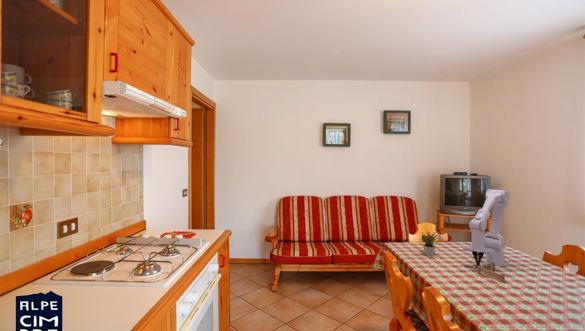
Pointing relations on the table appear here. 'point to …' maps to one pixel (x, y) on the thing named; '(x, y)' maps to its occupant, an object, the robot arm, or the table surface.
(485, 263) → the robot arm
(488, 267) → the fence panel
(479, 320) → the table surface
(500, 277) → the fence fixed
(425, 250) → the house plant
